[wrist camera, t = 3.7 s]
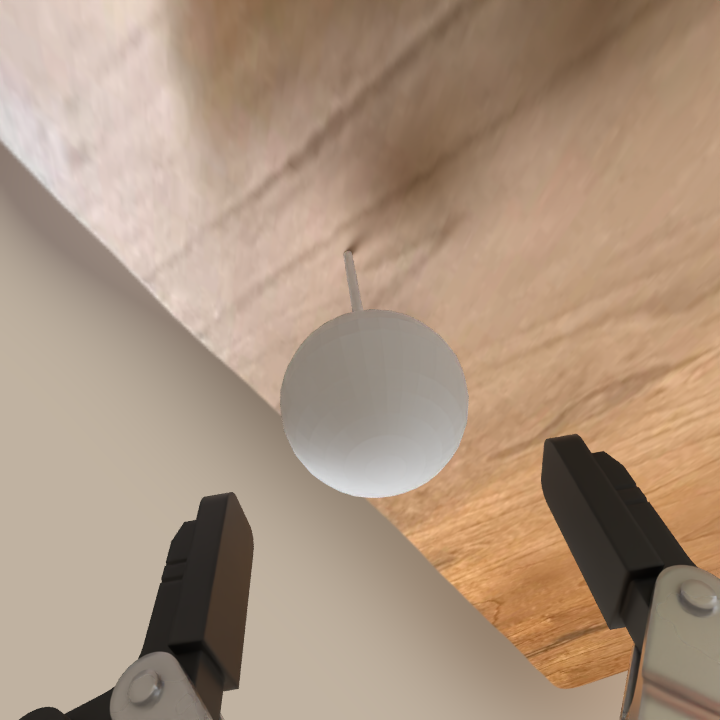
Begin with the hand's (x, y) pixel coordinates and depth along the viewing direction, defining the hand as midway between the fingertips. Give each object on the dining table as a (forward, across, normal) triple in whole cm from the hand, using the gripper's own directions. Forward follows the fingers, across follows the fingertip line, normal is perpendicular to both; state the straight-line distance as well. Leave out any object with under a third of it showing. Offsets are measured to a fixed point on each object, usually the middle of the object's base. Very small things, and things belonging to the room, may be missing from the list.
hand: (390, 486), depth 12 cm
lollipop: (+16, 0, 0) cm, 16 cm away
